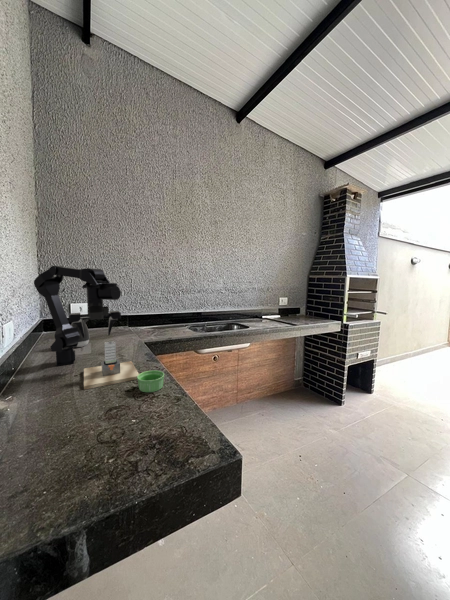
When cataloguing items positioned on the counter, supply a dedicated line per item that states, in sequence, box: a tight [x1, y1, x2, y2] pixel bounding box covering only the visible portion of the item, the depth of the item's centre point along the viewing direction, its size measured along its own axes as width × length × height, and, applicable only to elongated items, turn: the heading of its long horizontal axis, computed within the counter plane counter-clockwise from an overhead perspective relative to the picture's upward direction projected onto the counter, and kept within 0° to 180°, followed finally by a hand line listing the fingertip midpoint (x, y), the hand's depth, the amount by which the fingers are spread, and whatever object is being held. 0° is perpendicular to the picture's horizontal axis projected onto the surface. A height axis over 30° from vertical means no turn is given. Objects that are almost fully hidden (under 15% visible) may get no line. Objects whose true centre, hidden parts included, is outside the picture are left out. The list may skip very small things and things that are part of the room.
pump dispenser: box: [70, 319, 91, 348], centre depth 130 cm, size 10×10×15 cm
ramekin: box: [136, 369, 165, 393], centre depth 82 cm, size 9×9×4 cm
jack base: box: [83, 358, 140, 390], centre depth 92 cm, size 18×18×5 cm
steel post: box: [103, 340, 117, 364], centre depth 92 cm, size 4×4×7 cm
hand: (96, 336), depth 100 cm, fingers open, 9 cm apart
